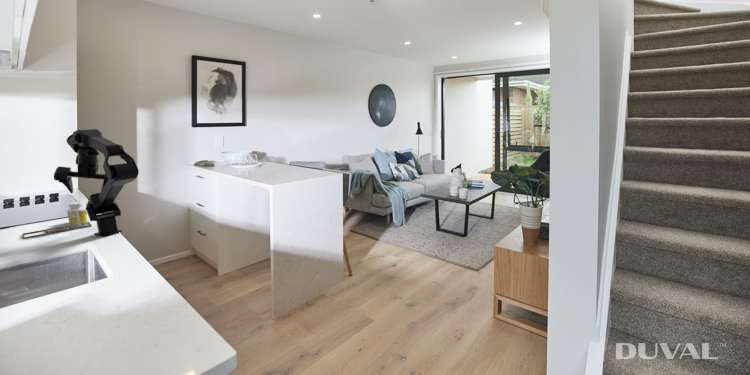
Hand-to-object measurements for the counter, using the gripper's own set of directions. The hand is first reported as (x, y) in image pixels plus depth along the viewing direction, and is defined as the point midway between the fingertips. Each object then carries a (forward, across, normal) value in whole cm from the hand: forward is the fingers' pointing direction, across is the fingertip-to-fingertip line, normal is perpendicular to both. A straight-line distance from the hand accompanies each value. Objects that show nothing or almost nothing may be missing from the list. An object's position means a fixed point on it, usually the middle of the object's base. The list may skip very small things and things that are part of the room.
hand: (87, 193), depth 143 cm
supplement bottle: (+15, +2, +2) cm, 15 cm away
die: (+19, +4, -6) cm, 21 cm away
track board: (+16, +8, +4) cm, 18 cm away
